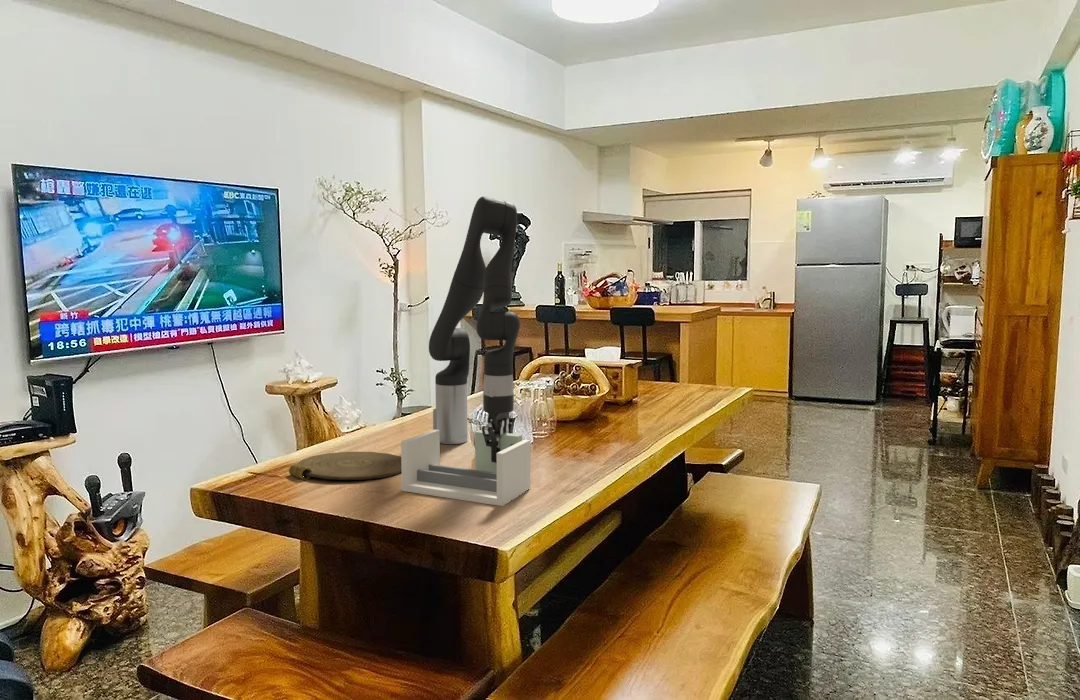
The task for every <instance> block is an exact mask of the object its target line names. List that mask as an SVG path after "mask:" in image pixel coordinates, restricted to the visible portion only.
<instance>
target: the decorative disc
mask: <svg viewBox="0 0 1080 700" xmlns="http://www.w3.org/2000/svg"><path fill="white" fill-rule="evenodd" d="M288 473H289V474H290V476H293V477H295V476H296V477H295V478H299V479H300V480H303V479H307V480H309V479H310V478H311V477H312V478H313V477H314V478H319V479H323V480H334V481H335V480H336V481H337V480H339V481H355V480H356V481H357V480H358V481H359V480H360V481H363V480H370V479H371V480H372V479H380V478H386V477H392V476H396V475H399V474H402V469H401V456H399V455H395V454H391V453H387V452H376V451H341V452H340V451H339V452H328V453H323V454H318V455H312V456H309V457H307V458H304V459H302V460H300V461H298V462H297V463H295V464H294V463H293V464H291V466H289V469H288ZM303 476H304V477H303ZM308 478H309V479H308Z"/></svg>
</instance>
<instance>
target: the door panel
mask: <svg viewBox="0 0 1080 700" xmlns="http://www.w3.org/2000/svg"><path fill="white" fill-rule="evenodd" d="M494 435H499V434H494ZM489 441H490V440H489ZM521 441H523V434H519V433H513V432H512V433H503V435H502V438H501V442H500V451H502V450H504V449H506V448H508V447H510V446H512V445H514V444H516V443H518V442H521ZM496 442H497V439H496ZM474 452H475V453H474V462H475V465H474V470H479V471H487V472H495V473H497V463H495V462H492V461H491V447H489V446H486V443H485V440H484V436H483V433H482V429H479V430H477V431H475V432H474Z"/></svg>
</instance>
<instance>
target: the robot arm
mask: <svg viewBox="0 0 1080 700" xmlns="http://www.w3.org/2000/svg"><path fill="white" fill-rule="evenodd" d="M517 224H518V209H517V207H516V205H515V204H514V203H513V202H509V201H506V200H503V199H498V198H493V197H490V196H480V197H479V198H478V199H477V200H476V203H475V204H474V207H473V210H472V213H471V217H470V221H469V226H468V229H467V233H466V237H465V240H464V241H465V242H464V245H463V248H462V251H461V254H460V257H459V259H458V263H457V266H456V267H455V270H454V273H453V277H452V278H451V282H450V286H449V289H448V292H447V296H446V298H445V301H444V304H443V307H442V310H441V312H440V314H439V317H438V318H437V320H436V322H435V325H434V327H433V329H432V330H431V331H432V332H431V334H430V337H429V340H428V352H429V355H430V358H431V359H433V360H435V361H437V362H438V361H439V362H444V361H447V362H448V361H449V362H448V363H449V364H448V365H447V366H446V367H445V368H444V369H443V370H440V371H439V372H437V373H436V374H435V380H434V381H435V383H434V384H435V408H433V410H432V427H433V428H432V430H440V445H441V444H443V445H459V444H464V443H467V442H468V435H469V433H468V377H469V373H470V355H471V342H470V337H469V334H468V332H467V330H465V329H464V328H461V327H459V328H458V327H457V326H458V324H460V322H461V321H462V320H463V319H464V318H465V317H466V316H467V315H468V314H469V313H470V312H472V311H473V309H474V308H475V307H476V306H477V305H478V304H479V302H480V301H481V299H483V300H482V305H481V309H480V312H479V315H478V318H477V321H476V333H477V336H478V337H479V338H480V339H481V340H483V341H505V342H504V344H503V345H502V346H501V347H499V348H494V349H491V350H488V351H485V353H484V357H483V363H484V364H483V384H482V386H483V387H482V390H483V391H482V396H483V397H482V399H483V400H482V406H483V408H482V410H483V411H484V412H485V413H486V414H488V415H487V420H486V421H487V423H486V425H483V426H481V430H482V433H483V436H484V440H485V443H486V446H489V447H491V461H492V462H495V463H497V453H498V452H500V442H501V438H502V435H503V433H512V434H513V430H514V424H515V418H514V417H510V414H509V413H512V412H513V411H514V408H515V407H514V402H515V400H514V397H515V393H514V391H515V390H514V386H515V385H514V384H515V383H514V378H513V377H514V376H513V375H514V373H513V371H514V370H513V369H514V368H513V367H514V363H513V360H514V350H515V346H516V342H517V339H518V336H519V331H520V328H521V321H520V318H519V316H518V314H516V313H515V312H513V311H495V310H498V309H501V308H506V307H507V306H509V305H510V304H511V303H512V299H513V294H512V293H513V292H512V291H513V288H512V285H513V284H512V266H513V260H514V259H513V258H514V252H515V244H516V243H515V242H516V235H517V234H516V233H517V227H518V226H517ZM483 234H488V235H494V236H497V237H500V238H501V240H500V246H499V248H498V249H497V252H496V253H495V254H494V255H493V257H492V258H491V259H490V261H489V262H488V264H487V265H486V263H485V260H484V258H483V253H482V249H481V242H482V241H481V239H482V236H483ZM482 297H483V298H482ZM494 434H499V435H494ZM496 439H497V442H496ZM489 440H490V441H489Z"/></svg>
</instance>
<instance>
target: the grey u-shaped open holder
mask: <svg viewBox="0 0 1080 700" xmlns="http://www.w3.org/2000/svg"><path fill="white" fill-rule="evenodd" d="M531 443H532V442H531V439H522V441H521V442H518V443H516V444H514V445H512V446H510V447H508V448H506V449H504V450H502V451H500V452H498V453H497V473H495V472H487V471H479V470H475V469H472V468H471V469H470V468H464V467H456V466H448V465H441V453H440V452H441V450H440V446H441V443H440V430H433V429H431V430H430V431H426V432H423V433H422V434H418V435H415V436H413V437H410V438H407V439H405V440H402V441H400V448H401V449H400V451H401V452H400V453H401V454H400V455H401V456H400V457H401V469H402V472H401V491H402V492H407V493H413V494H414V493H415V494H420V495H427V496H434V497H441V498H448V499H453V500H461V501H466V502H467V501H468V502H475V503H479V504H486V505H492V506H493V505H494V506H500V507H504V506H505V505H507V504H509V503H510V502H512V501H513V500H515V499H516V498H518V497H519V495H520V496H521V495H523V494H524V493H526V492H527V491H526V490H527V489H529V488H530V489H531ZM530 489H529V490H530ZM525 491H526V492H525ZM523 492H524V493H523ZM522 493H523V494H522ZM511 500H512V501H511Z"/></svg>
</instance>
